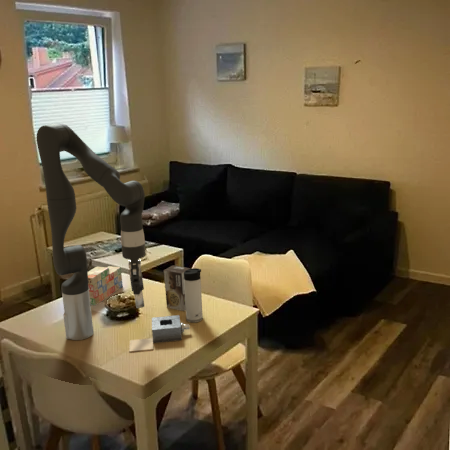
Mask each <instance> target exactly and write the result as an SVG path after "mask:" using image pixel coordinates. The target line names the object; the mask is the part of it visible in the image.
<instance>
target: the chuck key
mask: <svg viewBox="0 0 450 450" xmlns="http://www.w3.org/2000/svg"><path fill="white" fill-rule="evenodd" d="M140 272H141V276H140V277H139V280H140V294H137V295H134V294H133V295H134V302H135V307H136V309H140V308H141V309H142V308H144V307H145V299H144V293H143V291H144V289H145V287H144V279H143V274H142V267H141V268H140ZM128 273H129V275H130V269H128ZM133 280H138V279H133ZM129 281H130V285H131V286H130V287H131V291H132V292H133V284H132V283H131V282H132V279H131V277H130V276H129Z"/></svg>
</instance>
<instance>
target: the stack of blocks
mask: <svg viewBox="0 0 450 450" xmlns="http://www.w3.org/2000/svg"><path fill="white" fill-rule="evenodd" d="M88 287H89V296H90V305H92V306H96V305H98V304H99V303H101V302H102V301H104V300H105V299H107V298H108V297H109V296H111V295H112V294H114V293H115V292H117V291H118V290H120V289H121V288H122V287H123V275H122V268H121V267H120V266H111V265H110V266H109V265H108V266H107V267H106V266H105V267H103V266H95V267H94V268H92V269H90V270H89V271H88Z"/></svg>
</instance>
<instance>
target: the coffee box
mask: <svg viewBox="0 0 450 450" xmlns="http://www.w3.org/2000/svg"><path fill="white" fill-rule="evenodd" d="M188 269H192V268H191V267H190V268H189V267H185V266H180V265H170V266H169V267H167V268H166V269H163V276H164V288H165V289H164V290H165V299H166V301H165V302H166V308H168V309H171V310H177V311H180V312H181V311H182V312H186V306H185V289H184V272H185V271H186V270H188Z"/></svg>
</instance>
